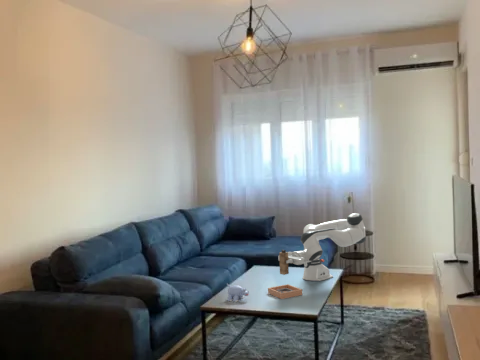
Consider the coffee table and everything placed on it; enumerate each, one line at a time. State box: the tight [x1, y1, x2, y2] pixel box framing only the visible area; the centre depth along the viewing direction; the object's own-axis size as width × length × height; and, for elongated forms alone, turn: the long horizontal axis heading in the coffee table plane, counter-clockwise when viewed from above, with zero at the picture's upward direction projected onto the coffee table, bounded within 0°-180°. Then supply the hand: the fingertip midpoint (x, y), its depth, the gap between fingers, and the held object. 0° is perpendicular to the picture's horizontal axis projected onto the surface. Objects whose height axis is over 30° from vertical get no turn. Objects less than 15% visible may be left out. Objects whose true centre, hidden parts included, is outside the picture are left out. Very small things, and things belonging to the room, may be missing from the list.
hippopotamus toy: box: [226, 283, 250, 303], centre depth 306 cm, size 11×15×10 cm
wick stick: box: [278, 249, 290, 276], centre depth 313 cm, size 4×4×16 cm
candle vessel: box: [267, 284, 303, 300], centre depth 314 cm, size 16×16×4 cm
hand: (283, 261), depth 313 cm, fingers closed on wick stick, 4 cm apart
